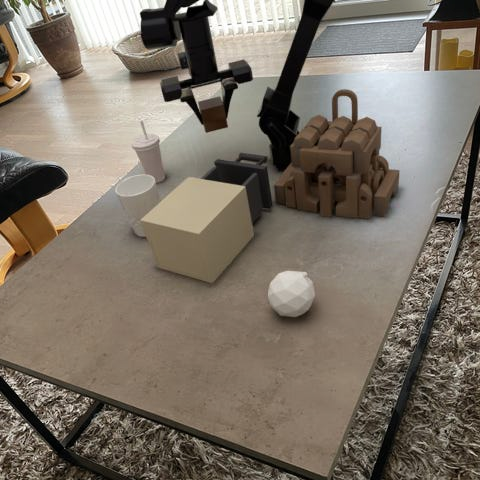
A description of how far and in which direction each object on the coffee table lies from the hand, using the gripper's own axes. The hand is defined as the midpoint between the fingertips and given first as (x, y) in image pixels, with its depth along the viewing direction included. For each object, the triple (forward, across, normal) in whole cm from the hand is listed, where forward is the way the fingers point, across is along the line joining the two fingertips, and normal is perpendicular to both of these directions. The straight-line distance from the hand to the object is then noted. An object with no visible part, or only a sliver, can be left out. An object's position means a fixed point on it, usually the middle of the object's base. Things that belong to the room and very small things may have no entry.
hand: (214, 121), depth 106 cm
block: (+1, 0, 0) cm, 1 cm away
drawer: (+10, +1, +22) cm, 24 cm away
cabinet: (+11, +8, +31) cm, 34 cm away
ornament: (+11, -3, +52) cm, 53 cm away
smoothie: (+11, +16, -2) cm, 20 cm away
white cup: (+11, +19, +18) cm, 28 cm away
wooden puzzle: (+11, -19, +24) cm, 32 cm away
